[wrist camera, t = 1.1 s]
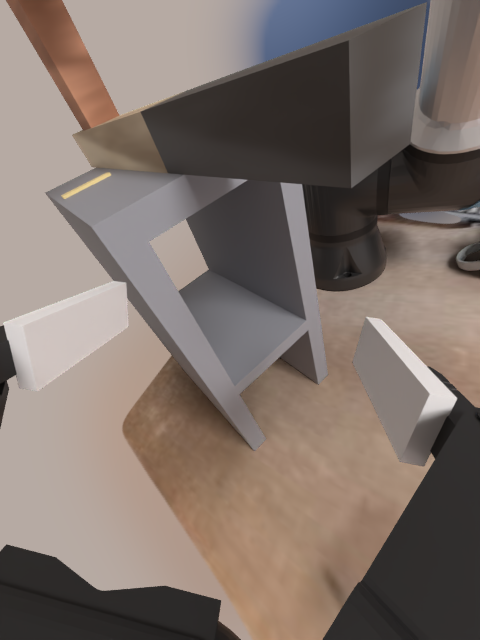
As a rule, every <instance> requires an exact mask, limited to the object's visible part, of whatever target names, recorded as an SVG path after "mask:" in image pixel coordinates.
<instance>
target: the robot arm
mask: <svg viewBox="0 0 480 640" xmlns="http://www.w3.org/2000/svg"><path fill="white" fill-rule="evenodd" d="M302 188H303V195H304V203H305V210H306V217H307V225H308V232H309V239H310V247H311V254H312V261H313V269H314V276H315V284H316V287H317V288H320V289H324V290H331V291H343V290H351V289H355V288H359V287H362V286H364V285H367V284H369V283H371V282H372V281H374V280H375V279H377V278H378V277H379V276H380V275H381V274H382V272H383V271H384V269H385V266H386V248H385V246H384V244H383V241H382V237H381V234H380V231H379V229H378V226H377V215H386V214H400V213H416V212H432V211H450V210H459V211H462V210H467V209H471V208H475V207H480V0H431V4H430V11H429V21H428V28H427V36H426V44H425V53H424V60H423V68H422V76H421V85H420V88H419V89H418V90H417V91H416V99H415V108H414V116H413V125H412V133H411V142H410V144H409V145H408V146H407V147H405V148H404V149H403V150H401V151H400V152H399V153H397V154H396V155H395V156H393V157H392V158H391V159H390V160H388V161H387V162H386V163H384V164H383V165H382V166H380V167H379V168H378V169H376V170H375V171H374V172H372V173H371V174H370V175H368V176H367V177H366V178H364V179H363V180H362V181H360V182H359V183H358V184H356V185H355V186H354V187H352V188H341V187H329V186H317V185H305V184H302ZM3 324H4V325H3V326H0V427H1V423H2V417H3V413H4V409H5V404H6V400H7V395H8V391H9V387H8V384H7V380H8V379H9V378H11V377H13V376H14V375H16V377H17V381H18V385H19V388H22V389H27V390H32V391H39V390H40V389H41V388H43V387H44V386H46V385H47V384H49V383H50V382H51V381H53V380H54V379H56V378H57V377H58V376H60V375H61V374H63V373H64V372H65V371H67V370H68V369H69V368H71V367H72V366H74V365H75V364H77V363H78V362H79V361H81V360H82V359H84V358H85V357H87V356H88V355H89V354H91V353H92V352H93V351H95V350H96V349H98V348H99V347H101V346H102V345H103V344H105V343H106V342H108V341H109V340H110V339H112V338H113V337H115V336H116V335H118V334H119V333H120V332H122V331H123V330H125V329H126V328H127V327H129V323H128V305H127V287H126V283H125V282H118V281H112V282H110V283H107V284H104V285H102V286H99V287H96V288H94V289H91V290H88V291H86V292H83V293H80V294H78V295H75V296H72V297H70V298H67V299H64V300H62V301H59V302H56V303H54V304H51V305H48V306H46V307H43V308H40V309H38V310H35V311H33V312H30V313H27V314H25V315H22V316H19V317H17V318H14V319H11V320H9V321H6V322H4V323H3ZM352 363H353V365H354V367H355V369H356V371H357V373H358V375H359V377H360V379H361V381H362V383H363V386H364V388H365V390H366V392H367V394H368V396H369V398H370V400H371V402H372V404H373V407H374V409H375V411H376V413H377V415H378V417H379V419H380V421H381V423H382V425H383V427H384V430H385V432H386V434H387V436H388V438H389V440H390V442H391V444H392V446H393V448H394V451H395V453H396V455H397V457H398V459H399V461H400V462H404V463H409V464H414V465H419V466H424V465H425V463H426V461H427V459H428V457H429V455H430V453H432V455H433V456H434V458H435V461H434V462H433V464H432V466H431V467H430V469H429V471H428V472H427V474H426V475H425V477H424V479H423V480H422V482H421V484H420V485H419V487H418V489H417V490H416V492H415V494H414V495H413V497H412V499H411V500H410V502H409V504H408V505H407V507H406V509H405V510H404V512H403V513H402V515H401V517H400V518H399V520H398V522H397V523H396V525H395V527H394V528H393V530H392V532H391V533H390V535H389V537H388V538H387V540H386V542H385V543H384V545H383V547H382V548H381V550H380V552H379V553H378V555H377V556H376V558H375V560H374V561H373V563H372V565H371V566H370V568H369V570H368V571H367V573H366V575H365V576H364V578H363V579H362V581H361V582H359V583H358V584H357V585H356V587H355V588H354V590H353V591H352V593H351V594H350V596H349V598H348V599H347V601H346V602H345V604H344V606H343V607H342V609H341V610H340V612H339V614H338V615H337V617H336V619H335V620H334V622H333V624H332V625H331V627H330V628H329V630H328V632H327V633H326V635H325V637H324V638H323V640H480V408H476V407H474V406H473V405H472V404H471V403H470V402H469V401H468V400H467V399H466V398H465V397H464V396H463V395H462V394H461V393H460V392H459V391H458V390H456V388H455V387H454V386H453V385H452V384H450V382H449V381H448V380H447V379H446V378H445V377H444V376H443V375H442V374H440V373H439V372H437V371H436V370H434V369H432V368H431V367H428V366H426V365H425V364H424V363H423V362H422V361H421V360H420V359H419V358H418V357H417V356H416V355H415V354H414V353H413V352H412V351H411V350H410V349H409V348H408V347H407V345H406V344H405V343H404V342H403V341H402V340H401V339H400V338H399V337H398V336H397V335H396V334H395V333H394V332H393V331H392V330H391V329H390V328H389V327H388V326H387V325H386V324H385V323H384V322H383V321H382V320H381V319H377V318H370V317H366V318H365V322H364V325H363V328H362V332H361V335H360V338H359V342H358V345H357V349H356V352H355V355H354V359H353V362H352ZM220 605H221V600H218V599H214V598H210V597H206V596H202V595H198V594H194V593H191V592H187V591H183V590H179V589H175V588H171V587H168V586H157V587H145V588H134V589H122V590H111V591H100V590H97V589H96V588H94V587H93V586H92V585H90V584H89V583H88V582H86V581H85V580H84V579H83V578H81V577H80V576H79V575H77V574H76V573H75V572H74V571H72V570H71V569H70V568H69V567H67V566H66V565H65V564H63V563H62V562H61V561H60V560H58V559H57V558H56V557H52V556H49V555H45V554H41V553H37V552H33V551H29V550H26V549H22V548H18V547H14V546H10V545H6V546H5V547H4V548H3V549H2V550H1V551H0V640H241V639H239V637H238V636H236V635H235V634H234V633H233V632H232V631H231V630H230V629H229V628H227V627H226V626H225V625H223V624H222V623H221V622H219V621H218V619H219V612H220Z"/></svg>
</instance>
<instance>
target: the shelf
mask: <svg viewBox="0 0 480 640" xmlns="http://www.w3.org/2000/svg"><path fill="white" fill-rule="evenodd" d="M46 195H47V196H48V197H49V198H50V200H51V201H52V202H53V203H54V205H55V206H56V207H57V209H58V210H59V211H60V213H61V214H62V215H63V216H64V217H65V219H66V220H67V221H68V223H69V224H70V225H71V226H72V228H73V229H74V230H75V232H76V233H77V234H78V235H79V237H80V238H81V239H82V241H83V242H84V243H85V245H86V246H87V247H88V248H89V250H90V251H91V252H92V253H93V255H94V256H95V257H96V259H97V260H98V261H99V262H100V264H101V265H102V266H103V268H104V269H105V270H106V271H107V273H108V274H109V275H110V276H111V278H112V279H113V280H114V281H118V282H125V283H126V287H127V298H128V300H129V301H130V302H131V303H132V305H133V306H134V307H135V309H136V310H137V311H138V312H139V314H140V315H141V316H142V317H143V319H144V320H145V321H146V323H147V324H148V325H149V326H150V328H151V329H152V330H153V332H154V333H155V334H156V335H157V337H158V338H159V339H160V341H161V342H162V343H163V344H164V346H165V347H166V348H167V349H168V351H169V352H170V353H171V355H172V356H173V357H174V358H175V360H176V361H177V362H178V364H179V365H180V366H181V367H182V369H183V370H184V371H185V372H186V373H187V374H188V376H189V377H190V378H191V379H192V380H193V381H194V382H195V384H196V385H197V386H198V387H199V388H200V389H201V390H202V392H203V393H204V394H205V395H206V396H207V397H208V398H209V400H210V401H211V402H212V403H213V404H214V405H215V407H216V408H217V409H218V410H219V411H220V412H221V413H222V415H223V416H224V417H225V418H226V419H227V420H228V421H229V423H230V424H231V425H232V426H233V427H234V428H235V429H236V431H237V432H238V433H239V434H240V435H241V436H242V437H243V439H244V440H245V441H246V442H247V443H248V444H249V445H250V447H251V448H252V449H253V450H254V451H255V450H256V449H257V448H258V447H259V446H260V445H261V444H262V443H263V442H264V441H265V440H266V438H265V436H264V435H263V433H262V431H261V430H260V428H259V426H258V425H257V423H256V421H255V420H254V418H253V416H252V415H251V413H250V411H249V410H248V408H247V406H246V404H245V403H244V401H243V399H242V398H241V396H240V393H241V392H243V391H244V390H245V389H246V388H247V387H248V386H249V385H250V384H251V383H252V382H253V381H254V380H255V379H256V378H258V377H259V376H260V375H261V374H262V373H263V372H264V371H265V370H266V369H267V368H268V367H269V366H270V365H271V364H272V363H274V362H275V361H276V360H277V359H278V358H279V357H280V358H282V359H283V360H284V361H286V362H287V363H289V364H290V365H291V366H293V367H294V368H296V369H297V370H299V371H300V372H301V373H303V374H304V375H306V376H307V377H308V378H310V379H311V380H313V381H314V382H315V383H317V384H318V385H319V384H320V382H321V381H322V380H323V379H324V378H325V377H326V376H327V375H328V372H327V364H326V357H325V350H324V342H323V335H322V328H321V320H320V313H319V306H318V298H317V291H316V284H315V276H314V269H313V261H312V254H311V247H310V239H309V232H308V225H307V217H306V210H305V203H304V195H303V188H302V184H292V183H280V182H268V181H256V180H243V179H231V178H219V177H207V176H194V175H182V174H170V173H158V172H145V171H133V170H121V169H109V168H95V169H93V170H91V171H89V172H87V173H85V174H83V175H80V176H79V177H77V178H75V179H72V180H70V181H68V182H66V183H64V184H62V185H60V186H58V187H56V188H54V189H52V190H50V191H48V192H46ZM184 219H186V220H187V222H188V225H189V227H190V229H191V231H192V233H193V235H194V238H195V240H196V242H197V244H198V246H199V248H200V251H201V253H202V255H203V257H204V259H205V261H206V264H207V266H208V268H209V270H208V271H207V272H205V273H203V274H202V275H201V276H199V277H198V278H196V279H195V280H194V281H192V282H191V283H189V284H188V285H187V286H185V287H184V288H183V289H181V290H180V291H178V290H177V289H176V287H175V285H174V284H173V282H172V280H171V278H170V277H169V275H168V273H167V272H166V270H165V268H164V267H163V265H162V263H161V262H160V260H159V258H158V257H157V255H156V253H155V252H154V250H153V248H152V246H151V245H150V243H149V241H151V240H152V239H154V238H155V237H157V236H159V235H160V234H162V233H164V232H165V231H167V230H168V229H170V228H172V227H173V226H175V225H176V224H178V223H180V222H181V221H183V220H184Z"/></svg>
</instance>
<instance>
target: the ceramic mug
mask: <svg viewBox="0 0 480 640" xmlns="http://www.w3.org/2000/svg"><path fill="white" fill-rule="evenodd" d="M479 250H480V242H477V243H474V244H471V245H469V246H467V247H465V248H463V249H462V250H461V251H460V252H459V253H458V254H457V257H456V262H457V264H458V266H459V268H461V269H463V270H468V271H474V270H480V261H472V262H465V261H464V259H465V258H466V256H467V255H469V254H471V253H474V252H476V251H479Z"/></svg>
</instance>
